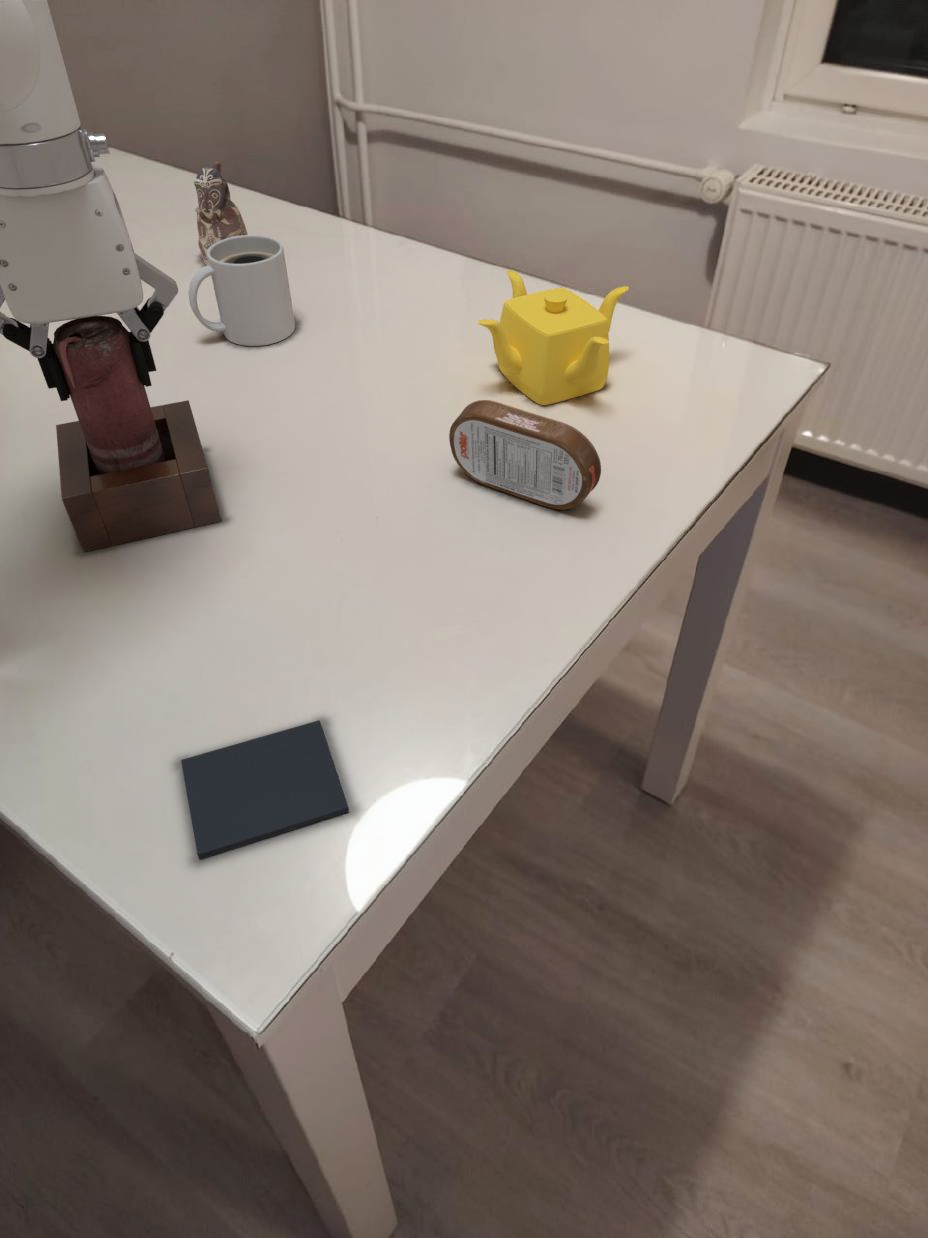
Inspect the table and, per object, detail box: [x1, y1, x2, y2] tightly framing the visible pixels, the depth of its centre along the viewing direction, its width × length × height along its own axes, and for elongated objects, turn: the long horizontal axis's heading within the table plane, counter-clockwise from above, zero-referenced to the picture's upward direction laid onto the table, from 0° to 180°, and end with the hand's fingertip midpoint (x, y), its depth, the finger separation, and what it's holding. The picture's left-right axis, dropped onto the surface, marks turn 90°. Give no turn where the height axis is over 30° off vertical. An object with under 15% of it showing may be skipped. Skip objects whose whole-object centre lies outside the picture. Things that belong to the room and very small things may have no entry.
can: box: [52, 315, 166, 475], centre depth 76 cm, size 6×6×14 cm
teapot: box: [476, 269, 630, 406], centre depth 96 cm, size 15×14×10 cm
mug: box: [188, 234, 296, 347], centre depth 105 cm, size 11×10×10 cm
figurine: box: [193, 161, 249, 266], centre depth 120 cm, size 7×7×12 cm
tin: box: [448, 399, 602, 510], centre depth 81 cm, size 15×3×8 cm, turn 59°
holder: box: [55, 399, 222, 553], centre depth 81 cm, size 12×12×6 cm
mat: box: [180, 719, 350, 860], centre depth 60 cm, size 10×8×1 cm
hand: (105, 384), depth 74 cm, fingers closed on can, 6 cm apart
